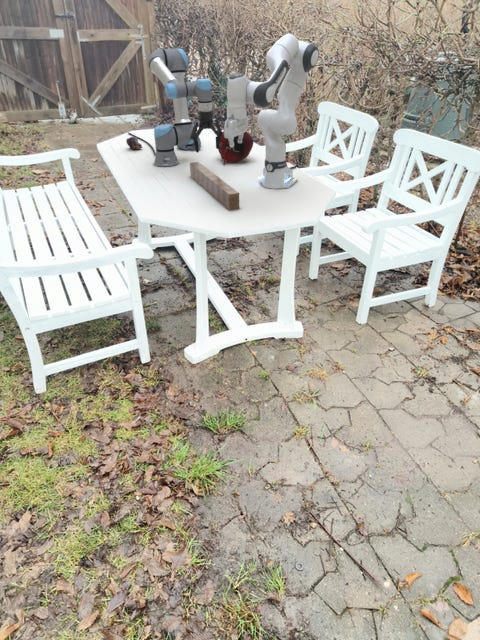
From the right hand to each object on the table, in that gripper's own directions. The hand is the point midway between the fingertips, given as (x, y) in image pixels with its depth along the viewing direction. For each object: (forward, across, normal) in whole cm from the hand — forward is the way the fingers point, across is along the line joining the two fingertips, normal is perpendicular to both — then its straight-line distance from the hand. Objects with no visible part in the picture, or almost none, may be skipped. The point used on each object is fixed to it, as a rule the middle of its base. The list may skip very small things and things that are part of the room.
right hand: (236, 145), depth 215 cm
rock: (+29, +76, +114) cm, 140 cm away
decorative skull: (+28, +77, +34) cm, 89 cm away
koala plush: (+28, +93, +78) cm, 125 cm away
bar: (+29, +14, +20) cm, 38 cm away
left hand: (+13, +36, +34) cm, 51 cm away
